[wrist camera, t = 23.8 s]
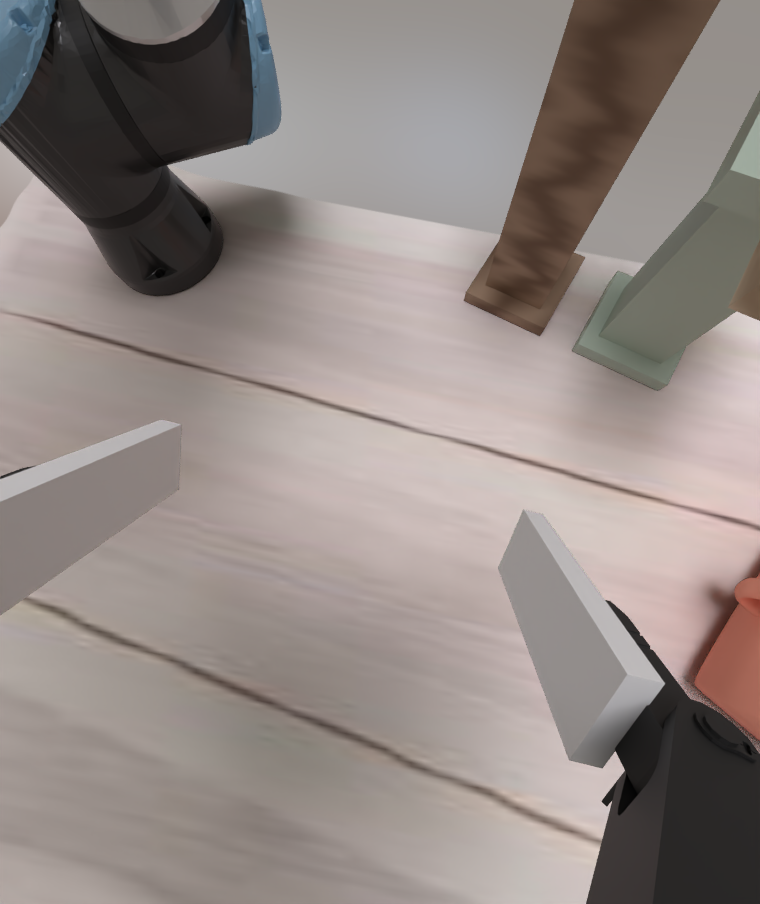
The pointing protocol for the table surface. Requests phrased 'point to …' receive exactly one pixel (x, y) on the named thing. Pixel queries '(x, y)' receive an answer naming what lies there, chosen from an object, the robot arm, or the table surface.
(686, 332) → the short pedestal
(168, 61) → the robot arm
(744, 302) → the mallet
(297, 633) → the table surface
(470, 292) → the tall pedestal
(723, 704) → the teapot
